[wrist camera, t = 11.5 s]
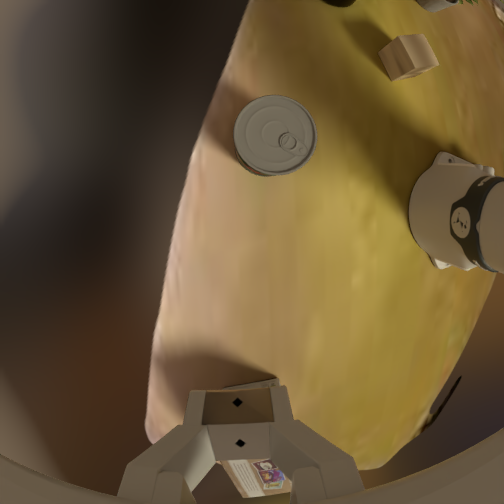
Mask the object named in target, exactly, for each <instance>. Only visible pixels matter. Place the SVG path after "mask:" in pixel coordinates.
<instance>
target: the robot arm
mask: <svg viewBox="0 0 504 504" xmlns="http://www.w3.org/2000/svg"><path fill="white" fill-rule="evenodd" d="M448 160H449V162H448ZM409 222H410V227H411V231H412V234H413V236H414V238H415V240H416V242H417V243H418V245H419V246H420V247H421V248H422V249H423V250H424V251H426V252H427V253H428V254H429V255H430V257H431V260H432V262H433V264H434V266H435V267H436V268H438V269H444V268H446V267H449V266H455V267H457V268H460V269H463V270H466V271H469V270H470V269H471V268H474V267H476V266H478V267H480V268H481V269H484V270H487V271H491V272H501V273H503V274H504V178H503V177H500V176H495V175H494V168H492V167H488V166H482V165H479V164H475V165H474V164H472V163H470V162H467V161H465V160H463V159H461V158H459V157H456V156H454V155H452V154H449V153H447V152H439V153H438V154H437V156H436V158H435V160H434V162H433V165H432V166H431V167H430V168H429V169H428V170H426V171H425V172H424V173H423V174H422V175H421V176H420V178H419V179H418V180H417V182H416V184H415V186H414V188H413V191H412V194H411V198H410V203H409ZM249 459H270V460H271V461H272V462H273V463H274V464H275V465H276V466H277V467H278V468H279V469H280V470H281V471H282V473H283V474H284V475H285V476H286V477H287V478H288V479H289V480H290V481H291V482H292V488H291V498H290V504H504V428H503V429H501V430H500V431H498V432H497V433H495V434H493V435H492V436H490V437H488V438H487V439H485V440H483V441H482V442H480V443H478V444H477V445H475V446H473V447H471V448H469V449H467V450H465V451H464V452H462V453H460V454H458V455H456V456H454V457H452V458H450V459H447V460H445V461H443V462H441V463H439V464H437V465H434V466H432V467H430V468H428V469H425V470H423V471H420V472H418V473H415V474H413V475H410V476H407V477H405V478H402V479H399V480H396V481H393V482H390V483H387V484H384V485H381V486H378V487H375V488H371V489H367V490H365V488H364V486H363V483H362V481H361V478H360V475H359V472H358V469H357V467H356V464H355V461H354V459H353V457H351V456H350V455H348V454H347V453H345V452H344V451H342V450H341V449H339V448H338V447H336V446H335V445H333V444H332V443H330V442H329V441H328V440H326V439H325V438H323V437H322V436H320V435H319V434H318V433H316V432H315V431H313V430H312V429H311V428H309V427H308V426H306V425H305V424H304V423H302V422H301V421H300V420H294V419H293V414H292V410H291V405H290V401H289V396H288V392H287V387H286V386H285V385H283V386H274V387H267V388H255V389H240V390H191V391H190V393H189V397H188V402H187V406H186V411H185V416H184V421H183V425H177V426H176V427H175V428H174V429H172V430H171V431H170V432H169V433H167V434H166V435H165V436H164V437H162V438H161V439H160V440H159V441H157V442H156V443H155V444H154V445H152V446H151V447H150V448H149V449H147V450H146V451H145V452H143V453H142V454H141V455H139V456H138V457H137V458H135V459H134V460H133V461H131V462H130V463H129V464H127V467H126V470H125V473H124V476H123V479H122V482H121V485H120V488H119V491H118V494H117V497H115V496H111V495H107V494H103V493H99V492H96V491H92V490H88V489H85V488H81V487H78V486H75V485H72V484H69V483H66V482H63V481H60V480H58V479H55V478H52V477H49V476H47V475H44V474H42V473H39V472H37V471H34V470H32V469H30V468H28V467H26V466H23V465H21V464H19V463H17V462H15V461H13V460H10V459H9V458H7V457H5V456H3V455H1V454H0V504H197V503H196V501H195V499H194V497H193V495H192V493H191V492H192V490H193V489H194V488H195V487H196V486H197V484H198V483H199V482H200V481H201V480H202V479H203V477H204V476H205V475H206V474H207V472H208V471H209V470H210V469H211V468H212V466H213V465H214V464H215V463H216V461H225V460H249Z"/></svg>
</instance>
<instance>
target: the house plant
mask: <svg viewBox="0 0 504 504" xmlns="http://www.w3.org/2000/svg"><path fill="white" fill-rule="evenodd" d="M458 1H459V4H463V1H462V0H417V2H418V3H419V4H420V5H421V6H422V7H423V8H424V9H426V10H428V11H430V12H437V11H439V10H442V9H444V8H447V7H450V6H453V5H456V4H457V3H458ZM466 1H467V2H469V3H470V4H472V5H473V3H472V1H471V0H466ZM473 1H475V2H476V3H477V4H478V2H477V0H473ZM500 1H502V0H500ZM502 2H503V1H502ZM503 3H504V2H503Z"/></svg>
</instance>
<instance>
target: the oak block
mask: <svg viewBox="0 0 504 504" xmlns="http://www.w3.org/2000/svg"><path fill="white" fill-rule="evenodd" d="M378 55H379V57H380V59H381V61H382V63H383V65H384V67H385V69H386V71H387V73H388V75H389V77H390V79H391V81H396V80H401V79H405V78H411V77H415V76H417V75H419V74H421V73H423V72H425V71H427V70H429V69H431V68H434V67H436V66H438V65H439V63H438V60H437V58H436V56H435V54H434V53H433V51H432V49H431V47H430V45H429V43H428V41H427V39H426V38H425V36H424V34H415V35H403V36H398V37H396V38H395V39H394V40H393V41H391V42H390V43H389V44H388V45H386V46H385V47H384V48H383V49H382V50H380V51H379V52H378Z"/></svg>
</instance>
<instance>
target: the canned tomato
mask: <svg viewBox="0 0 504 504" xmlns="http://www.w3.org/2000/svg"><path fill="white" fill-rule="evenodd" d="M233 138H234V144H235V152H236V156H237V158H238V161H239V162H240V164H241V165H242V166H243V167H244V168H245V169H246V170H248V171H249V172H251V173H253V174H255V175H258V176H275V175H285V174H289V173H292V172H294V171H296V170H298V169H300V168H301V167H303V166H304V165H305V164H306V163H307V162H308V161H309V159H310V158H311V156H312V155H313V153H314V150H315V148H316V143H317V129H316V125H315V122H314V120H313V118H312V116H311V115H310V113H309V112H308V110H307V109H306V108H305V107H304V106H303V105H301V104H300V103H298V102H297V101H295V100H293V99H291V98H289V97H285V96H281V95H268V96H263V97H260V98H257V99H255V100H253V101H251V102H250V103H248V104H247V105H246V106H245V107H244V108H243V109H242V110H241V112H240V113H239V115H238V117H237V119H236V121H235V125H234V129H233Z"/></svg>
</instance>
